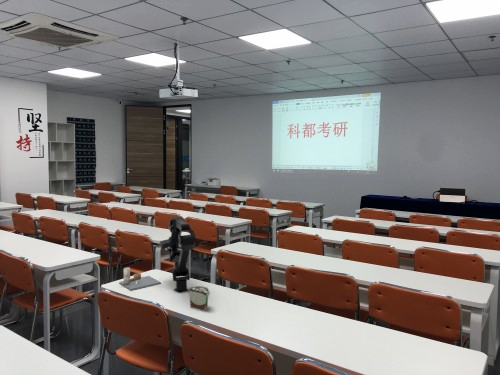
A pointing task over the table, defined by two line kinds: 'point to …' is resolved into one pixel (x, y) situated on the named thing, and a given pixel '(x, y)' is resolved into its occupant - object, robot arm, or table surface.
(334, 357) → the table surface
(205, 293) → the food container
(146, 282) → the grey flat slab
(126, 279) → the tuning peg
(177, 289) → the robot arm
